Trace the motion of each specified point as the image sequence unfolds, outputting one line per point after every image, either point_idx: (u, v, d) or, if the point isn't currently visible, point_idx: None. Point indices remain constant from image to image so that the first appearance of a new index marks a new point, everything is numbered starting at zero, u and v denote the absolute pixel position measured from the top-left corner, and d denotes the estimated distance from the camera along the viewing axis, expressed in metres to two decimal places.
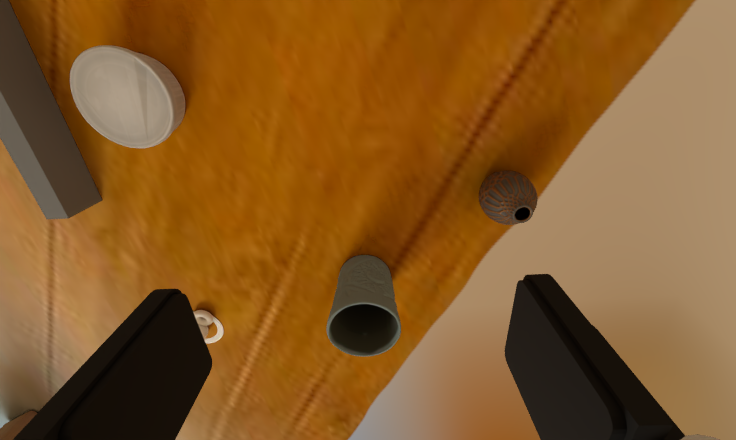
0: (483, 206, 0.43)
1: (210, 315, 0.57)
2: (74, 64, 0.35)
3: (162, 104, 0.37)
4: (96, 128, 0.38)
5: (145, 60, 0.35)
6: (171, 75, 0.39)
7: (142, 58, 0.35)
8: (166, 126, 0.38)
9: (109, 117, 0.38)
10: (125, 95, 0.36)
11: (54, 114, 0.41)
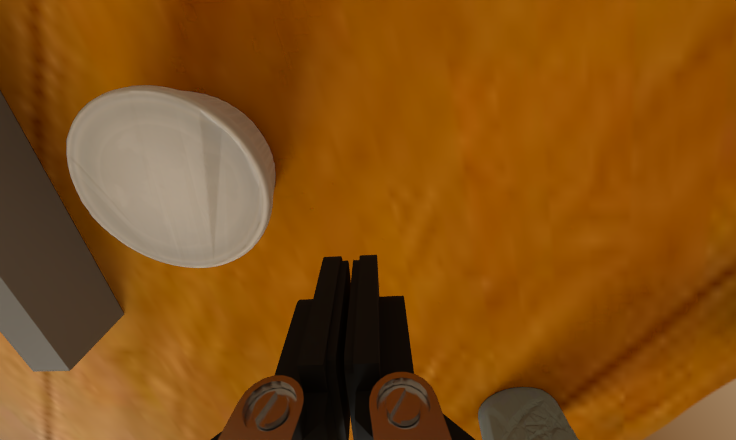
0: None
1: None
2: (75, 124, 0.17)
3: (247, 195, 0.19)
4: (119, 237, 0.20)
5: (222, 115, 0.17)
6: (258, 133, 0.20)
7: (216, 112, 0.17)
8: (251, 233, 0.20)
9: (143, 220, 0.19)
10: (178, 182, 0.18)
11: (42, 196, 0.23)
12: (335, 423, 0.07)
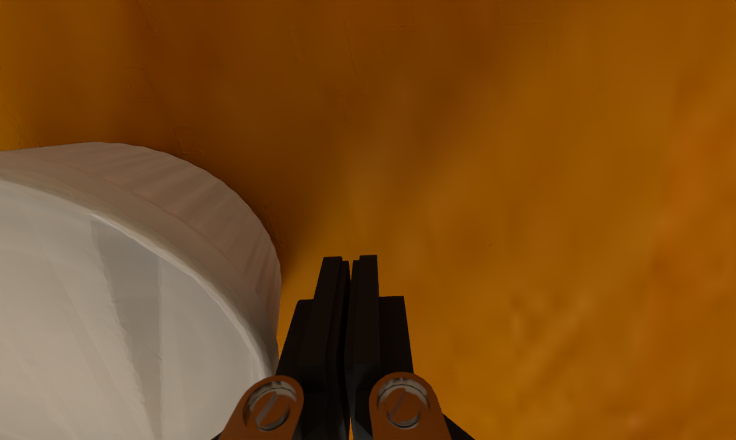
0: None
1: None
2: None
3: (224, 362, 0.09)
4: None
5: (153, 219, 0.07)
6: (248, 219, 0.10)
7: (138, 212, 0.07)
8: None
9: (7, 415, 0.09)
10: (66, 355, 0.08)
11: None
12: (335, 423, 0.07)
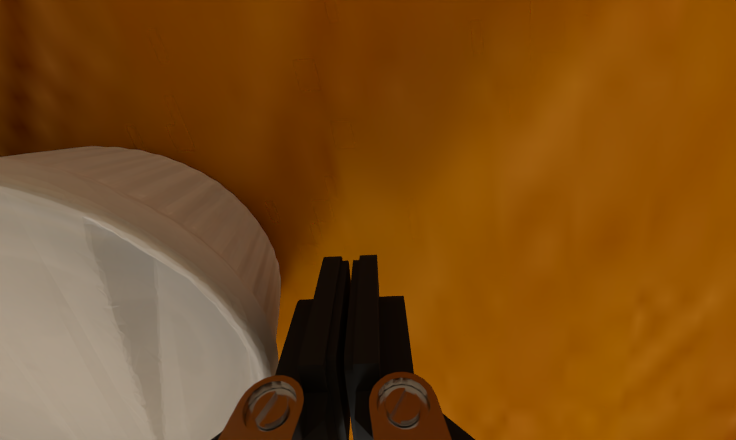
0: None
1: None
2: None
3: (223, 363, 0.09)
4: None
5: (147, 221, 0.07)
6: (245, 220, 0.10)
7: (131, 214, 0.07)
8: None
9: (10, 420, 0.09)
10: (65, 359, 0.08)
11: None
12: (335, 423, 0.07)
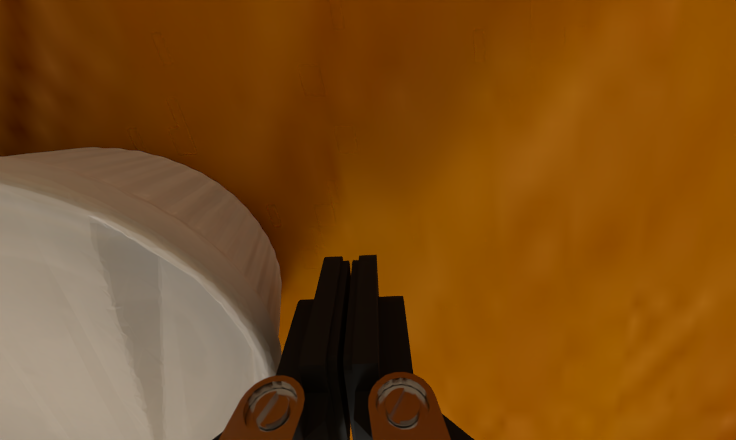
0: None
1: None
2: None
3: (227, 365, 0.09)
4: None
5: (153, 220, 0.07)
6: (247, 221, 0.10)
7: (137, 213, 0.07)
8: None
9: (5, 428, 0.09)
10: (65, 363, 0.08)
11: None
12: (336, 423, 0.07)
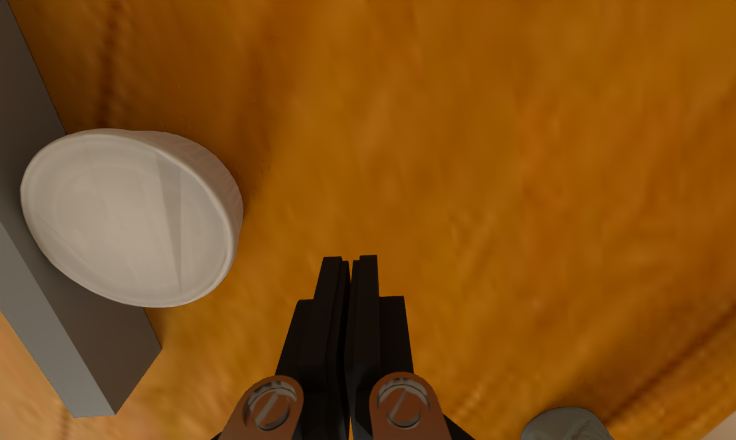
0: None
1: None
2: (28, 172, 0.17)
3: (211, 230, 0.19)
4: (80, 282, 0.19)
5: (179, 153, 0.17)
6: (221, 167, 0.20)
7: (173, 150, 0.17)
8: (217, 268, 0.20)
9: (105, 262, 0.19)
10: (138, 222, 0.18)
11: None
12: (335, 423, 0.07)
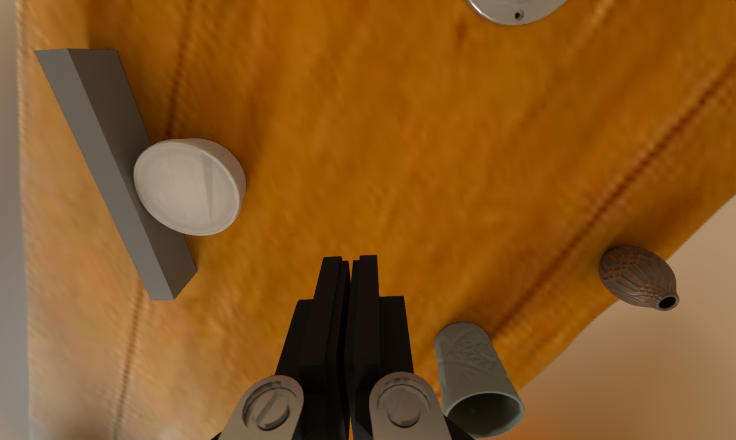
0: (611, 285, 0.41)
1: None
2: (138, 160, 0.33)
3: (228, 192, 0.35)
4: (159, 219, 0.36)
5: (212, 152, 0.33)
6: (233, 158, 0.37)
7: (209, 150, 0.33)
8: (231, 213, 0.36)
9: (173, 209, 0.36)
10: (191, 187, 0.35)
11: None
12: (335, 423, 0.07)
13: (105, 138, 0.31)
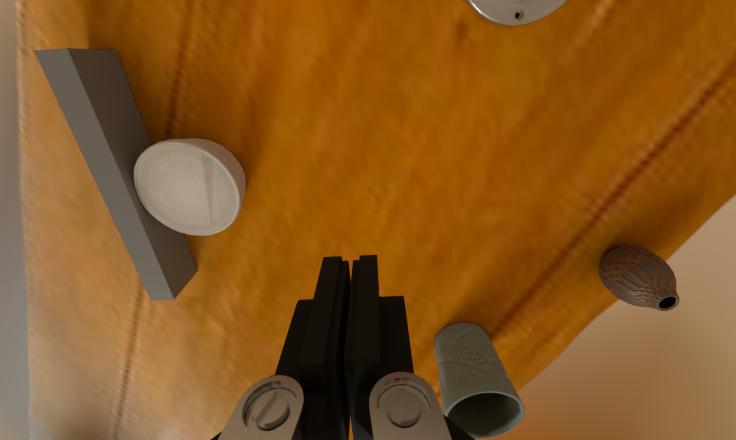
0: (611, 285, 0.41)
1: None
2: (139, 160, 0.33)
3: (228, 192, 0.35)
4: (159, 219, 0.36)
5: (212, 152, 0.33)
6: (233, 158, 0.37)
7: (209, 150, 0.33)
8: (231, 213, 0.36)
9: (173, 208, 0.36)
10: (191, 187, 0.35)
11: None
12: (335, 423, 0.07)
13: (105, 137, 0.31)
